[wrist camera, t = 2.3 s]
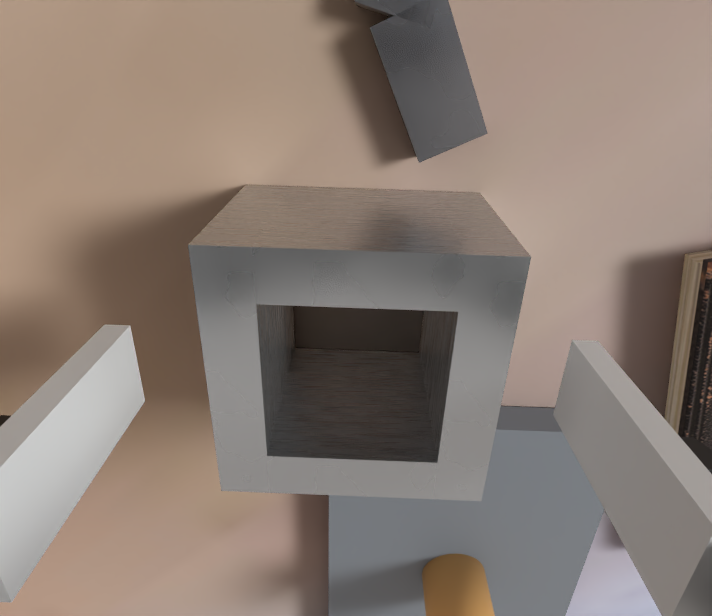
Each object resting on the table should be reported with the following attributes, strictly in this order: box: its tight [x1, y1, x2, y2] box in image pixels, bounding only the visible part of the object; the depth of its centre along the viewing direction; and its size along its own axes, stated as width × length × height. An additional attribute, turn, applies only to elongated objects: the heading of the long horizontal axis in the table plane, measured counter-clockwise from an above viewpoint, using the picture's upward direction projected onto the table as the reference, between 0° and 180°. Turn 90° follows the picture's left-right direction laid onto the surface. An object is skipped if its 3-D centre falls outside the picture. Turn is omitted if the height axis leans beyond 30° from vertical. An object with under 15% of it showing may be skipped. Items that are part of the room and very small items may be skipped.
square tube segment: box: [188, 185, 531, 501], centre depth 16 cm, size 8×8×6 cm
